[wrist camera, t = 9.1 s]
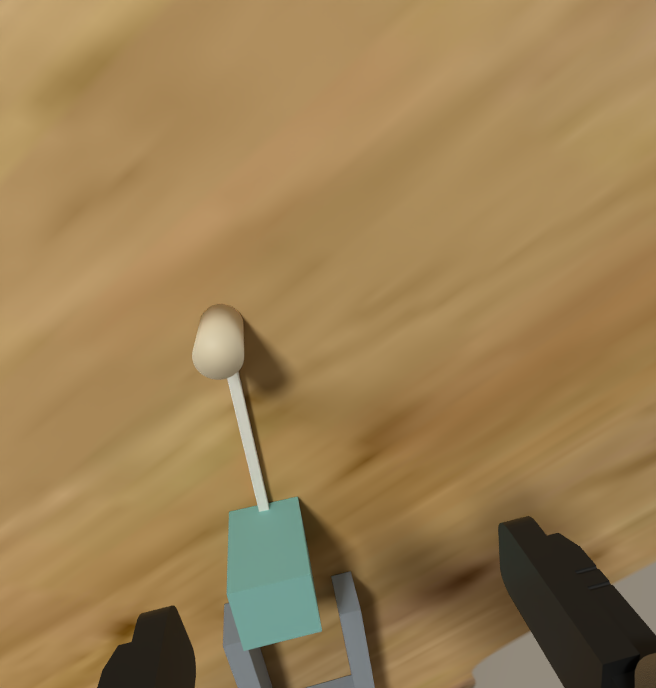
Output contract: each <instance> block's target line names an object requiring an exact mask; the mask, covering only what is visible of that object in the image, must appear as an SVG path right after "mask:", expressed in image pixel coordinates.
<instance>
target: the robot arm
mask: <svg viewBox="0 0 656 688" xmlns="http://www.w3.org/2000/svg"><path fill="white" fill-rule="evenodd" d="M498 534H499V555H500V570H501V575H502V578H503V581H504V584H505V587H506V589H507V591H508V593H509V595H510V597H511V599H512V600H513V602H514V604H515V605H516V607H517V609H518V610H519V612H520V614H521V615H522V617H523V619H524V620H525V622H526V624H527V625H528V627H529V629H530V630H531V632H532V634H533V635H534V637H535V639H536V641H537V642H538V644H539V646H540V647H541V649H542V650H543V652H544V654H545V656H546V657H547V659H548V661H549V662H550V664H551V666H552V667H553V669H554V671H555V672H556V674H557V676H558V678H559V679H560V681H561V683H562V684H563V686H564V687H565V688H656V635H655V634H654V633H653V632H652V630H650V628H649V627H648V626H647V625H646V623H645V622H644V621H643V620H642V619H641V618H640V616H639V615H638V614H637V613H636V612H635V611H634V609H633V608H632V607H631V606H630V605H629V604H628V602H627V601H626V600H625V599H624V598H623V597H622V595H621V594H620V593H619V592H618V591H617V589H615V587H614V586H613V585H611V584H610V582H609V580H608V579H607V578H606V577H605V575H604V574H603V573H602V572H601V571H600V569H597V567H596V565H595V564H594V562H593V561H592V560H591V559H590V558H589V557H588V555H587V554H586V553H585V552H584V551H583V550H582V548H581V547H580V546H578V545H577V544H575V543H574V542H572V541H570V540H569V539H567V538H566V537H564V536H563V535H561V534H559V533H556V534H552V535H548V536H547V535H546V534H545V533H544V532H543V530H542V529H541V528H540V527H539V525H538V524H537V523H536V521H535V520H534V519H533V518H531V517H530V516H526V517H523V518H519V519H515V520H511V521H507V522H503V523H500V524H499V527H498ZM195 678H196V663H195V655H194V651H193V647H192V645H191V642H190V640H189V637H188V635H187V632H186V630H185V628H184V625H183V623H182V620H181V618H180V616H179V613H178V611H177V609H176V607H175V606H169V607H165V608H161V609H157V610H153V611H149V612H145V613H142V614H140V615H139V617H138V619H137V623H136V626H135V630H134V634H133V639H132V642H130V643H126V644H122V645H118V647H117V648H116V650H115V651H114V653H113V655H112V656H111V658H110V659H109V661H108V662H107V664H106V666H105V667H104V669H103V670H102V674H101V677H100V680H99V684H98V687H97V688H195Z"/></svg>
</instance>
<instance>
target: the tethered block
mask: <svg viewBox="0 0 656 688" xmlns="http://www.w3.org/2000/svg"><path fill="white" fill-rule="evenodd" d="M192 359H193V363H194V365H195V367H196V369H197V370H198V371H199V372H200V373H201V374H202V375H204V376H206V377H208V378H211V379H226V378H227V379H228V383H229V388H230V392H231V396H232V400H233V404H234V409H235V413H236V417H237V421H238V425H239V429H240V434H241V438H242V442H243V446H244V450H245V454H246V459H247V463H248V467H249V471H250V475H251V480H252V484H253V488H254V492H255V496H256V500H257V505H258V506H253V507H249V508H244V509H240V510H235V511H231V512H229V534H228V568H227V597H228V600H229V604H230V607H231V610H232V614H233V617H234V620H235V624H236V627H237V630H238V634H239V637H240V640H241V644H242V647H243V650H244V651H246V650H250V649H254V648H258V647H262V646H266V645H269V644H273V643H277V642H281V641H285V640H289V639H293V638H297V637H301V636H305V635H309V634H313V633H317V632H321V631H322V628H321V622H320V616H319V611H318V605H317V599H316V593H315V587H314V582H313V576H312V570H311V564H310V558H309V553H308V547H307V542H306V537H305V532H304V526H303V521H302V516H301V511H300V506H299V501H298V497H294V498H289V499H285V500H280V501H276V502H271V503H268V499H267V494H266V490H265V486H264V481H263V477H262V472H261V468H260V464H259V459H258V455H257V450H256V446H255V442H254V437H253V433H252V429H251V424H250V420H249V415H248V411H247V407H246V402H245V398H244V393H243V389H242V385H241V380H240V376H239V370H240V368H241V367H242V365H243V362H244V324H243V319H242V316H241V315H240V313H239V312H238V311H237V310H236V309H235V308H233V307H231V306H229V305H225V304H217V305H214V306H211V307H209V308H208V309H207V310H206V311H205V312H204V313H203V314H202V316H201V319H200V323H199V327H198V332H197V336H196V340H195V344H194V348H193V353H192Z"/></svg>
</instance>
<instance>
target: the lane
mask: <svg viewBox="0 0 656 688" xmlns="http://www.w3.org/2000/svg"><path fill="white" fill-rule="evenodd" d="M331 578H332V583H333V587H334V592H335V597H336V602H337V607H338V612H339V616H340V621H341V626H342V631H343V636H344V641H345V645H346V650H347V655H348V660H349V665H350V669H351V674H352V675H350V676H346V677H342V678H339V679H335V680H332V681H328V682H325V683H321V684H318V685H314V686H311V687H307V688H375V686H374V681H373V675H372V670H371V664H370V658H369V653H368V647H367V642H366V636H365V631H364V625H363V620H362V614H361V609H360V605H359V601H358V598H357V594H356V590H355V586H354V582H353V579H352V575H351V571H350V572H346V573H343V574H339V575H335V576H331ZM223 648H224V651H225V653H226V656H227V659H228V662H229V664H230V667H231V670H232V673H233V676H234V678H235V681H236V684H237V687H238V688H273V687H272V684H271V681H270V678H269V675H268V671H267V668H266V665H265V662H264V659H263V656H262V652H261V649H260V647H258V648H254V649H250V650H246V651H244V650H243V647H242V644H241V640H240V637H239V634H238V630H237V627H236V624H235V620H234V617H233V614H232V610H231V607H230V604H229V603H227V604H224V633H223Z"/></svg>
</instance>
